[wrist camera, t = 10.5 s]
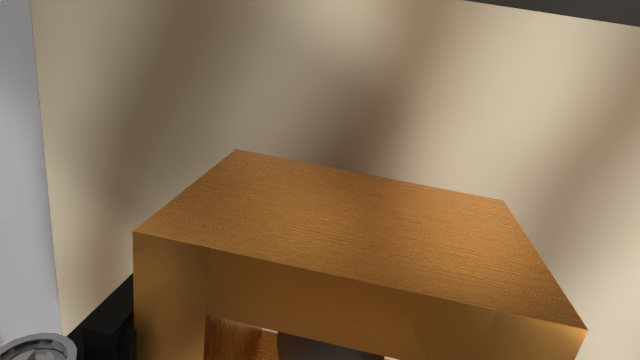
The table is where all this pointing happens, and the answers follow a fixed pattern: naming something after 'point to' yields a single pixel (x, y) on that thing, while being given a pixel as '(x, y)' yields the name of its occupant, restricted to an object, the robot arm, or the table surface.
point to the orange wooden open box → (341, 270)
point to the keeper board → (347, 126)
